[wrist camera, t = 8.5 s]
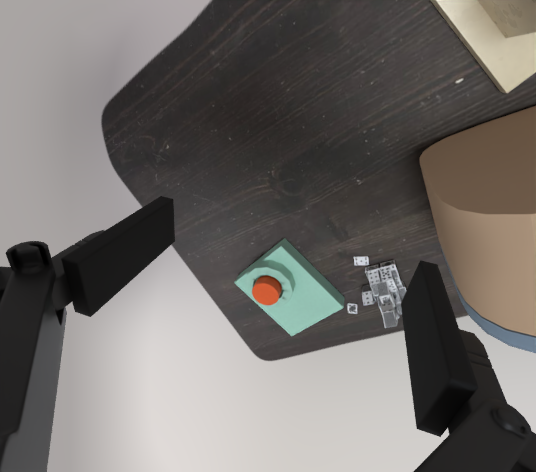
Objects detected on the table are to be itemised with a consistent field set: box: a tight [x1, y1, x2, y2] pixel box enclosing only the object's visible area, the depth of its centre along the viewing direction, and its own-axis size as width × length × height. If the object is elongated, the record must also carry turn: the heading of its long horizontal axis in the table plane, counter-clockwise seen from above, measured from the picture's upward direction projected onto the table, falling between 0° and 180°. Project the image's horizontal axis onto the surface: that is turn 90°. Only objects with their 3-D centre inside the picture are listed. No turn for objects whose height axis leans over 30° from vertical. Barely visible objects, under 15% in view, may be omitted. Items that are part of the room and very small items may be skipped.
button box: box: [234, 238, 345, 336], centre depth 43 cm, size 12×10×4 cm
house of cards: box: [348, 257, 406, 328], centre depth 38 cm, size 9×9×8 cm
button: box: [252, 276, 282, 305], centre depth 41 cm, size 4×4×2 cm
